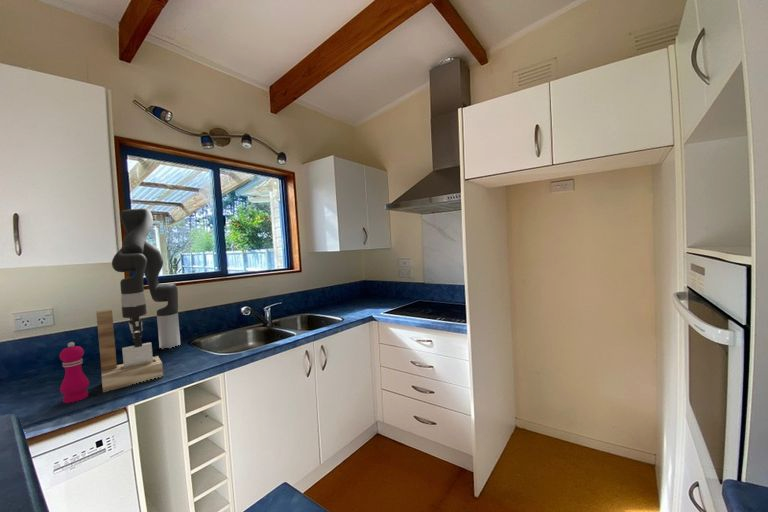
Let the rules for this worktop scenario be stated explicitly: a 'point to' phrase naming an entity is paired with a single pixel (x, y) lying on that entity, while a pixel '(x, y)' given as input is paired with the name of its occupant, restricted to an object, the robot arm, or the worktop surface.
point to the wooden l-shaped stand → (112, 372)
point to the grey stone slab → (137, 355)
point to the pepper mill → (73, 374)
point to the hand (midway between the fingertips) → (137, 344)
